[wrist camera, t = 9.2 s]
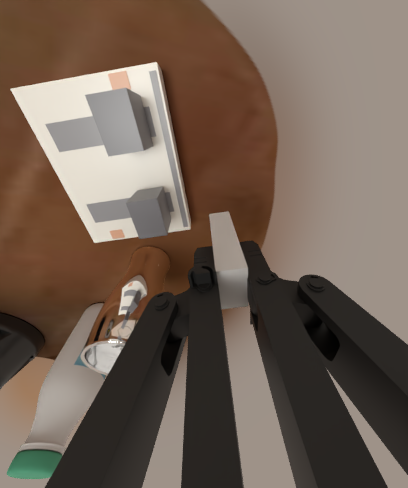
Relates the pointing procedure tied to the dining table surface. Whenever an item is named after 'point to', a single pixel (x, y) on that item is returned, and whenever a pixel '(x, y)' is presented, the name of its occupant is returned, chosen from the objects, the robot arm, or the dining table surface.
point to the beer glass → (125, 308)
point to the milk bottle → (59, 404)
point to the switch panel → (94, 153)
